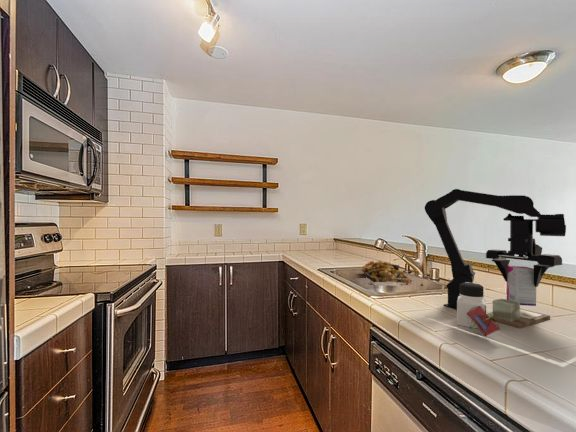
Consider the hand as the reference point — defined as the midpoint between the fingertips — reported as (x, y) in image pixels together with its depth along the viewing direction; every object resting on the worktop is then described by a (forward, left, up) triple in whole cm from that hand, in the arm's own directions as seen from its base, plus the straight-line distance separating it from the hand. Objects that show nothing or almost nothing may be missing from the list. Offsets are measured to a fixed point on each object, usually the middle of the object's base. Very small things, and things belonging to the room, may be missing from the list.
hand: (521, 284), depth 95 cm
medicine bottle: (-21, +3, -11) cm, 24 cm away
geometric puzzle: (-27, -4, -11) cm, 29 cm away
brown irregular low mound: (+6, +64, -12) cm, 65 cm away
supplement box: (0, 0, -6) cm, 6 cm away
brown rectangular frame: (-3, 0, -10) cm, 11 cm away
